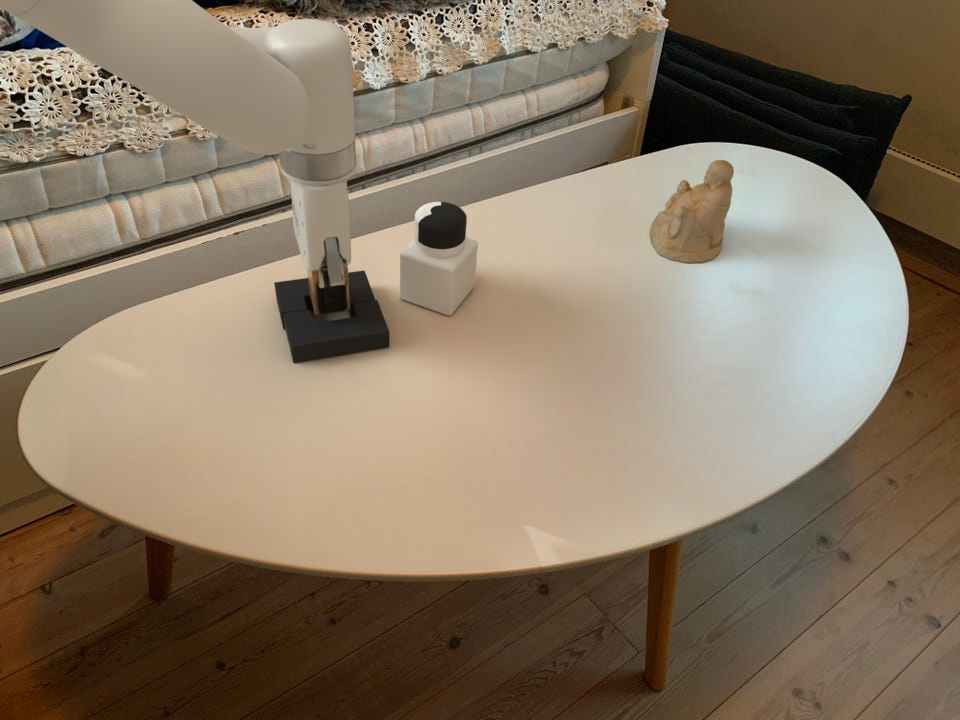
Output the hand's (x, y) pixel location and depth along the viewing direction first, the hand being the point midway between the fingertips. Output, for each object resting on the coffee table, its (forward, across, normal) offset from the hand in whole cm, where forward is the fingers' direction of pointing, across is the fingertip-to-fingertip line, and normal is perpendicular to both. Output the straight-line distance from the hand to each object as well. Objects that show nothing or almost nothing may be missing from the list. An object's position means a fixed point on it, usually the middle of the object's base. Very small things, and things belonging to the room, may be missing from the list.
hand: (329, 297), depth 90 cm
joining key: (+1, 0, 0) cm, 1 cm away
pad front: (+4, +3, 0) cm, 5 cm away
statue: (+4, -6, +52) cm, 52 cm away
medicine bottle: (+4, -2, +14) cm, 15 cm away
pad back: (+4, -3, 0) cm, 5 cm away
